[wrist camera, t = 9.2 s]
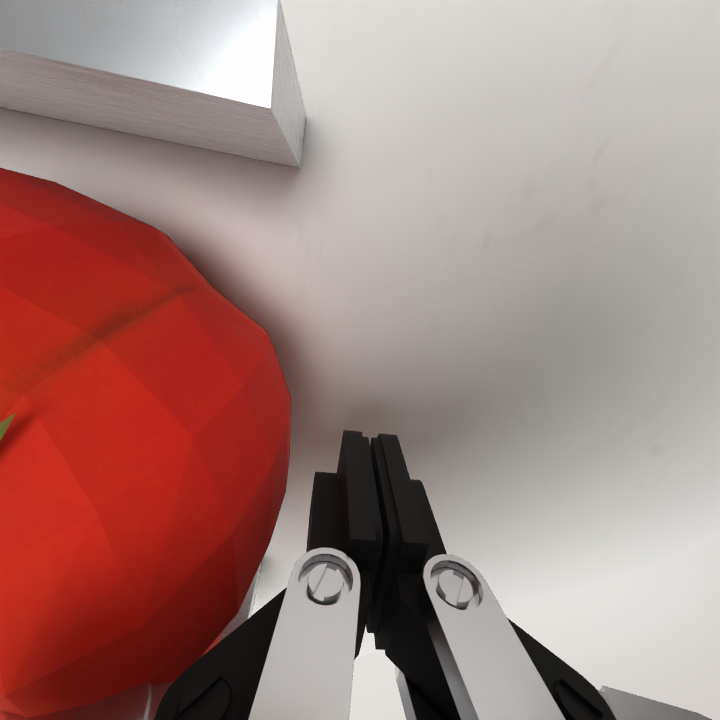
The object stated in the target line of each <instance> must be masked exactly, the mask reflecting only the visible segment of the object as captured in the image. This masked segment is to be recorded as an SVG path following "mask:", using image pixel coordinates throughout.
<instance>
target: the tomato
mask: <svg viewBox="0 0 720 720" xmlns="http://www.w3.org/2000/svg"><path fill="white" fill-rule="evenodd" d="M290 412H291V396H290V393H289V391H288V388H287V385H286V382H285V379H284V376H283V373H282V371H281V368H280V365H279V362H278V359H277V356H276V354H275V351H274V348H273V345H272V342H271V339H270V337H269V335H268V333H267V331H266V330H264V329H263V328H262V327H261V326H259V325H258V324H257V323H256V322H254V321H253V320H252V319H251V318H250V317H248V316H247V315H246V314H245V313H243V312H242V311H241V310H240V309H238V308H237V307H236V306H235V305H233V304H232V303H231V302H230V301H229V300H227V299H226V298H225V297H224V296H222V295H221V294H220V293H219V292H217V291H216V290H215V289H214V288H213V287H211V285H210V284H209V283H208V282H207V281H206V280H205V278H204V277H203V276H202V275H201V274H200V273H199V271H198V270H197V269H196V268H195V267H194V266H193V264H192V263H191V262H190V261H189V260H188V259H187V257H186V256H185V255H184V254H183V253H182V252H181V250H180V249H179V248H178V247H177V246H176V245H175V243H174V242H173V241H172V240H171V239H170V238H169V236H167V235H165V234H164V233H162V232H161V231H159V230H157V229H156V228H154V227H152V226H150V225H148V224H146V223H144V222H141V221H139V220H137V219H135V218H133V217H130V216H128V215H126V214H124V213H122V212H119V211H117V210H115V209H113V208H111V207H109V206H106V205H104V204H102V203H100V202H98V201H95V200H93V199H91V198H89V197H87V196H84V195H82V194H80V193H78V192H76V191H73V190H71V189H69V188H67V187H65V186H63V185H60V184H58V183H56V182H53V181H49V180H45V179H41V178H37V177H33V176H30V175H26V174H22V173H18V172H14V171H10V170H6V169H3V168H0V720H6V719H8V718H10V717H13V716H15V715H18V714H19V715H22V716H25V717H28V718H29V717H34V716H38V715H43V714H48V713H52V712H57V711H62V710H66V709H71V708H75V707H80V706H85V705H89V704H92V703H94V702H97V701H99V700H102V699H105V698H107V697H110V696H112V695H115V694H118V693H120V692H123V691H125V690H128V689H131V688H133V687H136V686H138V685H141V684H144V683H146V682H150V681H151V687H154V686H158V685H162V684H166V683H170V682H174V681H175V680H176V679H177V678H178V677H179V676H180V675H181V674H182V673H183V672H184V671H185V670H186V669H187V668H188V667H189V666H191V665H192V664H193V663H194V662H196V661H197V660H198V659H199V658H201V657H202V656H203V655H204V654H205V653H207V652H208V651H209V650H210V649H212V648H213V647H214V646H215V645H217V644H218V642H219V639H220V637H221V634H222V631H223V630H224V629H225V628H226V627H227V625H228V624H229V623H230V622H231V621H232V620H233V618H234V617H235V616H236V615H237V614H238V612H239V610H240V608H241V605H242V603H243V601H244V599H245V597H246V594H247V592H248V590H249V588H250V585H251V583H252V581H253V579H254V577H255V574H256V572H257V570H258V568H259V566H260V563H261V561H262V559H263V557H264V554H265V552H266V550H267V548H268V546H269V543H270V540H271V537H272V534H273V531H274V527H275V524H276V521H277V518H278V514H279V511H280V508H281V505H282V501H283V498H284V495H285V492H286V484H287V474H288V465H289V456H290Z"/></svg>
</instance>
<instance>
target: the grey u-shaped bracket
mask: <svg viewBox="0 0 720 720" xmlns="http://www.w3.org/2000/svg"><path fill="white" fill-rule="evenodd" d="M0 107H2V108H7V109H12V110H17V111H22V112H26V113H31V114H36V115H41V116H46V117H51V118H56V119H61V120H66V121H71V122H76V123H81V124H86V125H90V126H95V127H100V128H105V129H110V130H115V131H120V132H125V133H130V134H135V135H140V136H145V137H149V138H154V139H159V140H164V141H169V142H174V143H179V144H184V145H189V146H194V147H199V148H204V149H209V150H213V151H218V152H223V153H228V154H233V155H238V156H243V157H248V158H253V159H258V160H263V161H268V162H273V163H277V164H282V165H287V166H292V167H297V168H301V161H302V151H303V141H304V131H305V121H306V113H305V108H304V104H303V99H302V95H301V90H300V86H299V82H298V77H297V73H296V68H295V64H294V60H293V55H292V51H291V46H290V42H289V37H288V33H287V29H286V24H285V20H284V15H283V11H282V6H281V2H280V0H0ZM260 570H261V563H260V566H259V568H258V570H257V572H256V574H255V577H254V579H253V581H252V583H251V585H250V588H249V590H248V592H247V594H246V597H245V599H244V601H243V603H242V605H241V608H240V610H239V612H238V614H237V615H236V616H235V617H234V618H233V620H232V621H231V622H230V623H229V624H228V625H227V627H226V628H225V629H224V630H223V631H222V634H221V637H220V639H219V642H220V641H221V640H223V639H224V638H225V637H226V636H228V635H229V634H230V633H231V632H233V631H234V630H235V629H236V628H237V627H239V626H240V625H241V624H242V623H244V622H245V621H246V620H247V619H248V618H250V617H251V615H252V610H253V605H254V600H255V596H256V591H257V586H258V581H259V577H260ZM219 642H218V643H219Z"/></svg>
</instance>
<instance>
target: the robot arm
mask: <svg viewBox="0 0 720 720" xmlns="http://www.w3.org/2000/svg"><path fill="white" fill-rule="evenodd" d="M365 626H366V628H367V632H368V633H374V637H375V647H376V649H381V650H385V654H386V656H387V657H388V658H389V659H390V660H391V661H392V662H393V663H394V664H395V665H396V666H395V673H396V681H397V684H398V688H399V692H400V696H401V700H402V704H403V708H404V712H405V716H406V719H407V720H712V719H709V718H707V717H705V716H703V715H701V714H699V713H696V712H692V711H689V710H686V709H682V708H678V707H675V706H672V705H668V704H665V703H662V702H658V701H655V700H651V699H648V698H644V697H641V696H637V695H634V694H630V693H627V692H624V691H620V690H616V689H613V688H609V687H606V686H602V688H601V689H600V691H599V690H596V688H595V687H594V686H593V685H592V684H590V683H589V682H588V681H587V680H586V679H585V678H584V677H583V676H582V675H580V674H579V673H578V672H577V671H575V670H574V669H573V668H571V667H570V666H569V665H567V664H566V663H565V662H563V661H562V660H561V659H560V658H558V657H557V656H555V654H553V653H552V652H550V651H549V650H548V649H547V648H545V647H544V646H543V645H542V644H540V643H539V642H538V641H536V640H535V639H534V638H532V637H531V636H530V635H529V634H527V633H526V632H525V631H524V630H522V629H521V628H520V627H518V626H517V625H516V624H515V623H513V622H512V621H511V620H509V619H508V618H507V617H506V615H505V614H504V612H503V610H502V608H501V607H500V605H499V603H498V601H497V600H496V598H495V596H494V594H493V593H492V591H491V589H490V587H489V586H488V584H487V582H486V580H485V579H484V578H483V576H482V575H481V574H480V572H479V571H478V570H477V569H476V568H475V567H474V566H472V565H471V564H470V563H469V562H467V561H465V560H463V559H462V558H459V557H456V556H453V555H447V553H446V550H445V547H444V545H443V542H442V539H441V536H440V533H439V530H438V527H437V524H436V521H435V518H434V515H433V513H432V510H431V507H430V504H429V501H428V498H427V495H426V492H425V489H424V486H423V484H422V482H421V481H420V480H411V479H410V477H409V474H408V470H407V467H406V464H405V460H404V457H403V454H402V450H401V447H400V444H399V440H398V437H397V436H396V435H388V434H378V437H377V438H372V439H371V442H370V446H369V440H368V437H362V432H357V431H347V430H344V432H343V437H342V443H341V449H340V456H339V462H338V468H337V473H325V472H315V476H314V483H313V491H312V499H311V508H310V517H309V528H308V539H307V551H306V553H305V554H303V555H302V556H301V557H300V559H299V560H298V561H297V562H296V564H295V566H294V568H293V570H292V572H291V576H290V579H289V583H288V586H287V588H285V589H284V590H283V591H282V592H280V593H279V594H278V595H277V596H276V597H274V598H273V599H272V600H271V601H269V602H268V603H267V604H266V605H264V606H263V607H262V608H261V609H260V610H258V611H257V612H256V613H255V614H253V615H252V616H251V617H250V618H248V619H247V620H246V621H245V622H244V623H242V624H241V625H240V626H239V627H237V628H236V629H235V630H234V631H233V632H231V633H230V634H229V635H228V636H226V637H225V638H224V639H223V640H221V641H220V642H219V643H218V644H217V645H215V646H214V647H213V648H212V649H210V650H209V651H208V652H207V653H205V654H204V655H203V656H202V657H201V658H199V659H198V660H197V661H196V662H194V663H193V664H192V665H191V666H189V667H188V668H187V669H186V670H185V671H184V672H183V673H182V674H181V675H180V676H179V677H178V678H177V679H176V680H175V681H174V682H170V683H166V684H162V685H158V686H154V687H151V681H150V682H146V683H144V684H141V685H138V686H136V687H133V688H131V689H128V690H125V691H123V692H120V693H118V694H115V695H112V696H110V697H107V698H105V699H102V700H99V701H97V702H94V703H92V704H89V705H85V706H80V707H75V708H71V709H66V710H62V711H57V712H52V713H48V714H43V715H38V716H34V717H29V718H28V717H25V716H22V715H19V714H18V715H15V716H13V717H10V718H8V719H6V720H349V716H350V703H351V692H352V680H353V668H354V660H355V658H356V657H357V656H358V655H359V651H360V647H361V643H362V639H363V634H364V630H365Z"/></svg>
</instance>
